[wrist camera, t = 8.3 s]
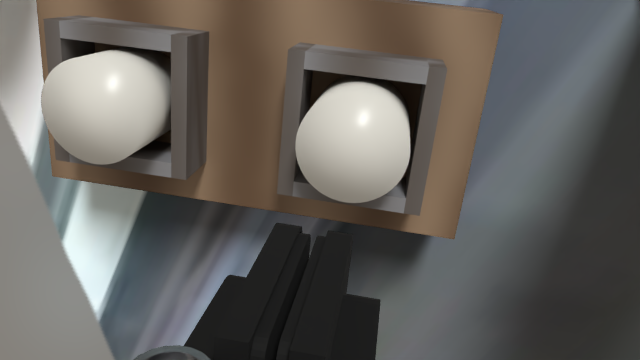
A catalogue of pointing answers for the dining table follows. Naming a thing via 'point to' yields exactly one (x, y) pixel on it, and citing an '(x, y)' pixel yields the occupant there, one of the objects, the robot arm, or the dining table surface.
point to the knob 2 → (355, 139)
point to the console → (288, 96)
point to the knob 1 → (108, 103)
